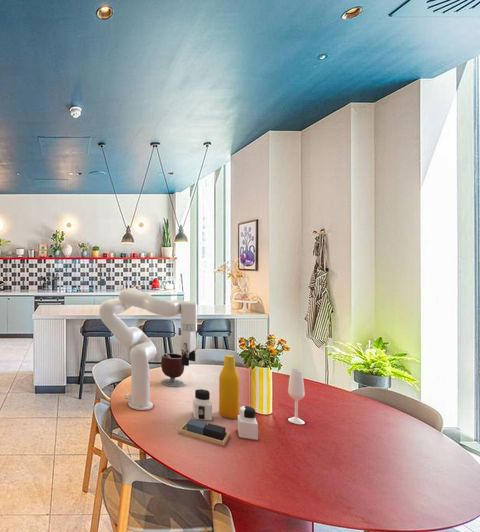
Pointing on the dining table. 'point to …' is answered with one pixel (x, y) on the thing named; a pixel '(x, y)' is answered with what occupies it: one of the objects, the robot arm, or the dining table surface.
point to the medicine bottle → (247, 423)
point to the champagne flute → (296, 392)
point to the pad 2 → (215, 431)
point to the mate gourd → (172, 369)
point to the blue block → (196, 426)
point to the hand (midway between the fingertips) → (188, 363)
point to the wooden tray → (184, 431)
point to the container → (202, 405)
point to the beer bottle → (229, 389)
